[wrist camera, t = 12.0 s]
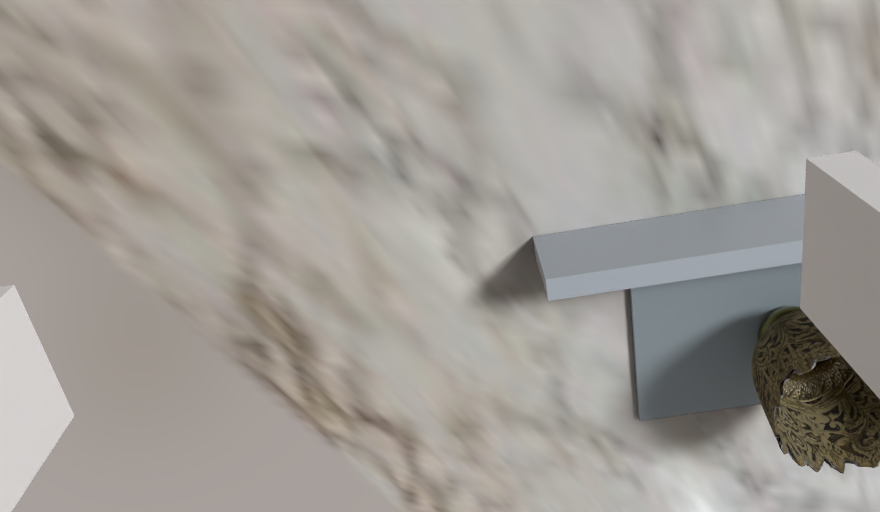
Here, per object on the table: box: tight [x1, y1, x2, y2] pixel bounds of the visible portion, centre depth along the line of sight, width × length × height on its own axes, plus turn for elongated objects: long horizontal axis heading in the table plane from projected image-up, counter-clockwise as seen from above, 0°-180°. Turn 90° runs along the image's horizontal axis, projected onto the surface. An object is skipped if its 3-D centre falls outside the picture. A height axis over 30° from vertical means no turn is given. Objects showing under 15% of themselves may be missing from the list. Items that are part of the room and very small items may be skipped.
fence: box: [533, 194, 805, 301], centre depth 42 cm, size 13×23×5 cm, turn 99°
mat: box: [630, 263, 802, 421], centre depth 45 cm, size 10×10×1 cm
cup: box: [751, 306, 880, 473], centre depth 41 cm, size 8×7×8 cm
